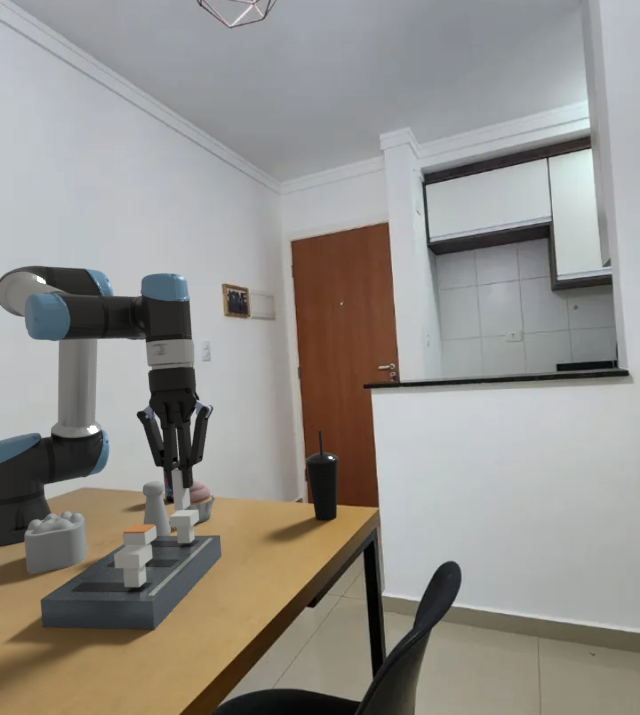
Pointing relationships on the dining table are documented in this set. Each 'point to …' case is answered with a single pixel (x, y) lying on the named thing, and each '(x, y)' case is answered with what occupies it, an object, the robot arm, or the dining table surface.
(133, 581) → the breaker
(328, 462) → the drinking cup
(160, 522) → the salt shaker
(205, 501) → the cupcake
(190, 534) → the breaker
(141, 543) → the block
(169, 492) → the supplement container
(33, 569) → the lumpy-topped squat cylinder
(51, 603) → the panel
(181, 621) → the dining table surface
